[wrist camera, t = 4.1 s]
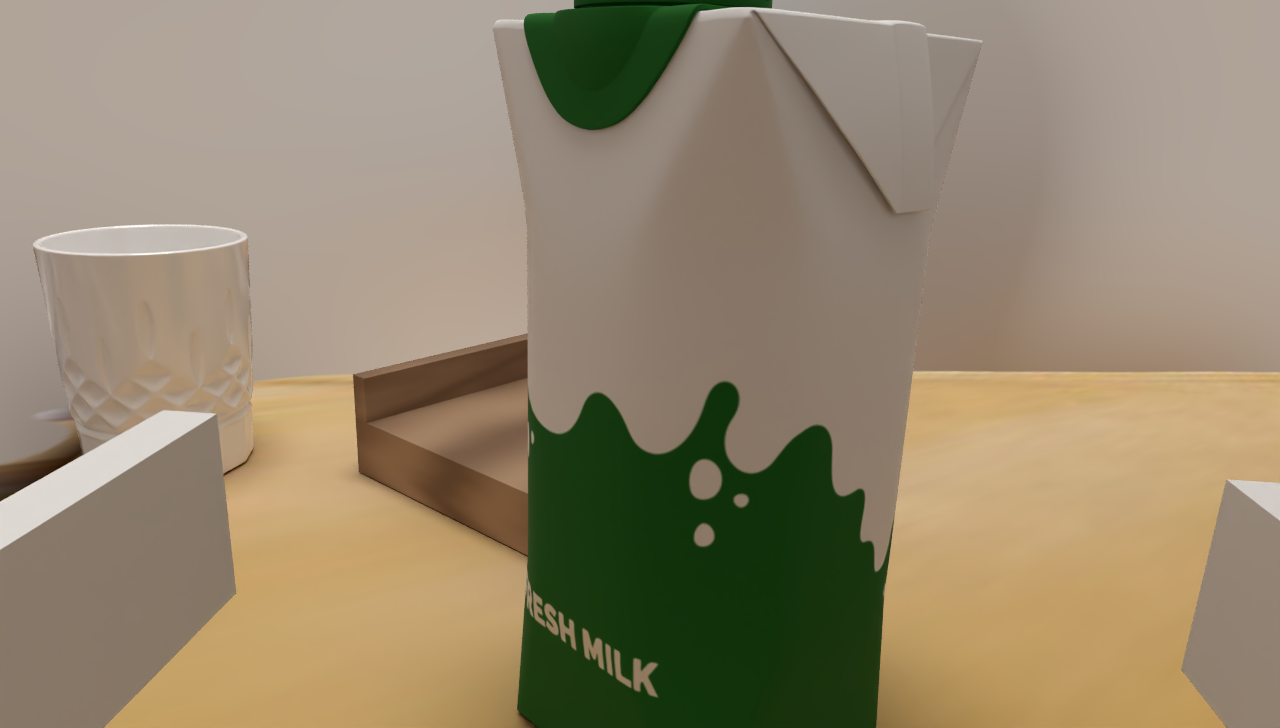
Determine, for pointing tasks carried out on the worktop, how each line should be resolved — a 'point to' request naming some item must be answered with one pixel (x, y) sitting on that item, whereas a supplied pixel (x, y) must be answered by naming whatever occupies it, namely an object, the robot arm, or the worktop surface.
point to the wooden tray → (453, 434)
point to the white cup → (152, 327)
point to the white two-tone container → (719, 350)
